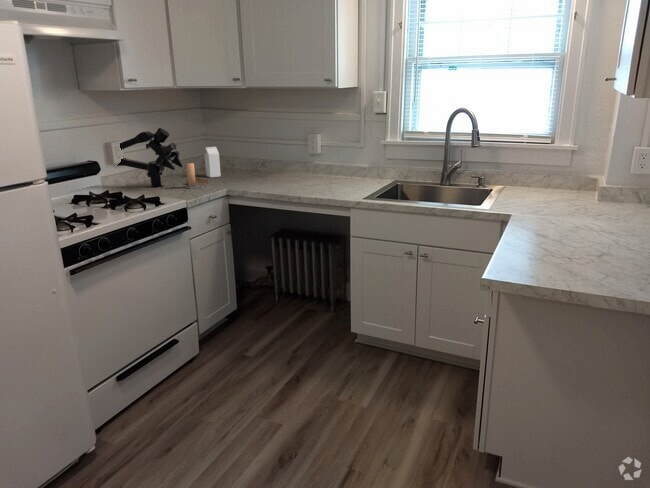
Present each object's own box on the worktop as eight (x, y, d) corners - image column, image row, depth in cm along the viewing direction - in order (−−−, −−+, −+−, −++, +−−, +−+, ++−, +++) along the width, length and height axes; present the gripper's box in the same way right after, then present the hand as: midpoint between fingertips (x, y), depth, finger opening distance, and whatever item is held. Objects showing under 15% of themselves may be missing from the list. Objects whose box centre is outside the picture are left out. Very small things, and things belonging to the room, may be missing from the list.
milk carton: (220, 176, 323) (218, 147, 318) (210, 177, 319) (207, 147, 314) (216, 175, 329) (214, 146, 323) (206, 176, 325) (203, 146, 319)
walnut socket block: (187, 183, 300) (186, 179, 299) (200, 181, 306) (199, 177, 305) (195, 185, 294) (194, 181, 293) (208, 183, 300) (207, 179, 299)
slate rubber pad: (183, 187, 289) (183, 186, 289) (194, 185, 294) (194, 184, 293) (190, 189, 284) (189, 187, 284) (200, 187, 289) (200, 186, 289)
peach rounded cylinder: (188, 185, 290) (185, 163, 286) (195, 185, 291) (193, 162, 287) (188, 186, 286) (186, 164, 282) (196, 186, 287) (194, 163, 283)
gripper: (158, 140, 274) (178, 160, 275) (174, 137, 292) (193, 156, 293) (146, 154, 278) (167, 174, 279) (163, 150, 296) (182, 169, 297)
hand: (178, 168), depth 287 cm, fingers open, 9 cm apart
